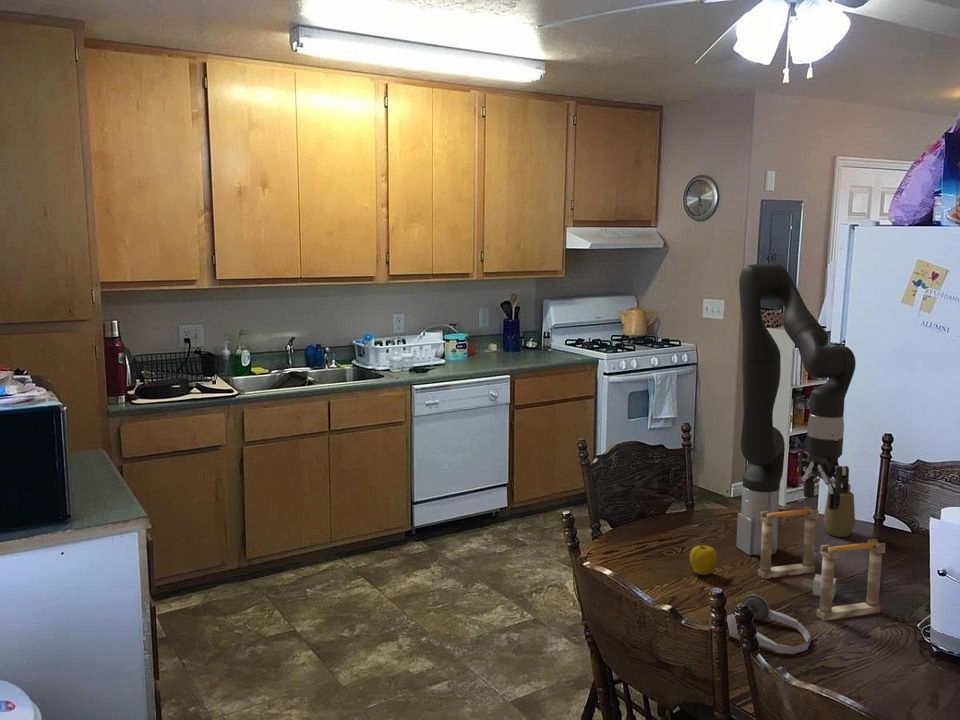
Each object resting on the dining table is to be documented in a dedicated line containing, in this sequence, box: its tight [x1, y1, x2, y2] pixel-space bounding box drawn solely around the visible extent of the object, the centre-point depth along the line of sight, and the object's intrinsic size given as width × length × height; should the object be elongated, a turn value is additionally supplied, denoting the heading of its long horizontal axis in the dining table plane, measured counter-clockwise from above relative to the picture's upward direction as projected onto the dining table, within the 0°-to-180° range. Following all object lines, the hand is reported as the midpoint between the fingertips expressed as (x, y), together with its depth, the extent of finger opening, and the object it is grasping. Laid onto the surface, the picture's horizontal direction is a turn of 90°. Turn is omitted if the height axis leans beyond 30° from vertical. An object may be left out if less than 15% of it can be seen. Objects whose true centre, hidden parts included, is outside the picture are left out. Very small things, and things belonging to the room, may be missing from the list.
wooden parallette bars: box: [757, 506, 886, 621], centre depth 182 cm, size 14×25×16 cm, turn 14°
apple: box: [689, 544, 718, 576], centre depth 193 cm, size 6×6×8 cm
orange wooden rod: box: [766, 508, 814, 518], centre depth 191 cm, size 13×1×1 cm, turn 104°
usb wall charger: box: [801, 573, 837, 600], centre depth 182 cm, size 4×7×4 cm, turn 57°
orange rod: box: [827, 541, 879, 553], centre depth 170 cm, size 13×1×1 cm, turn 104°
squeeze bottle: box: [822, 483, 856, 538], centre depth 217 cm, size 8×8×18 cm
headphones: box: [726, 587, 812, 655], centre depth 165 cm, size 17×6×20 cm
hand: (820, 502), depth 179 cm, fingers open, 8 cm apart
